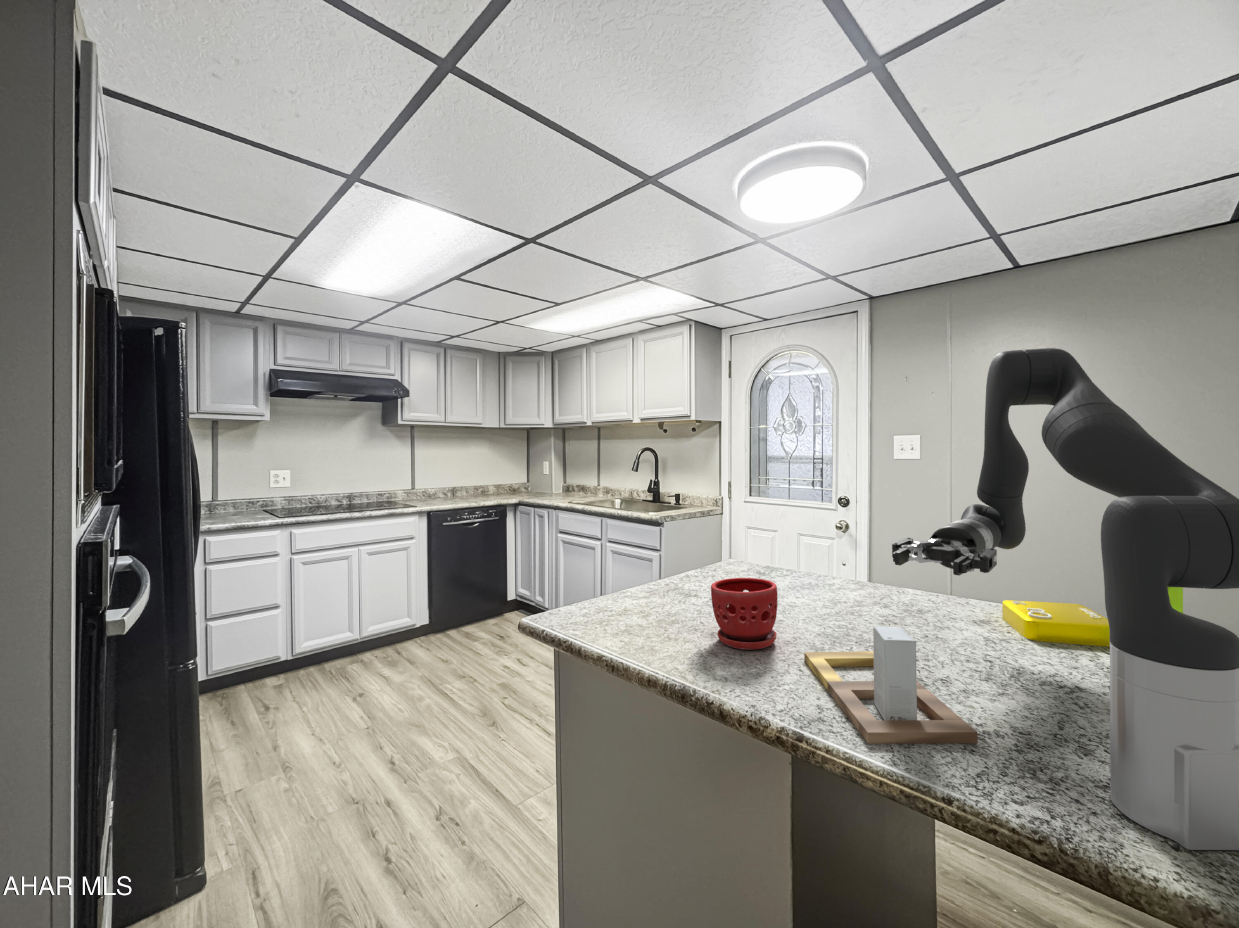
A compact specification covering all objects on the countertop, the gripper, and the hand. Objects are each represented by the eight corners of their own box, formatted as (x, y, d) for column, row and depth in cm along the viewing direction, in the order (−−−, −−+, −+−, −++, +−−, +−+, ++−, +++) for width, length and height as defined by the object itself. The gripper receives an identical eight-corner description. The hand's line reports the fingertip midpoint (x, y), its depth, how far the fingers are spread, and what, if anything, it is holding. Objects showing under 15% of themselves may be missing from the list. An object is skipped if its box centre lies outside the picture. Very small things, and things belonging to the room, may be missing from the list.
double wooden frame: (977, 743, 67) (977, 731, 67) (868, 743, 68) (867, 732, 68) (882, 659, 94) (882, 651, 94) (804, 660, 95) (804, 652, 95)
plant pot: (777, 632, 109) (776, 576, 109) (779, 657, 97) (778, 593, 96) (715, 628, 113) (713, 574, 113) (709, 651, 100) (707, 590, 100)
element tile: (1124, 649, 96) (1124, 624, 96) (1027, 642, 101) (1027, 618, 101) (1082, 623, 110) (1082, 601, 110) (999, 618, 115) (999, 597, 115)
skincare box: (918, 726, 72) (917, 641, 71) (885, 724, 72) (883, 640, 72) (903, 705, 78) (902, 626, 77) (873, 703, 78) (871, 625, 78)
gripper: (918, 517, 97) (878, 534, 86) (1010, 527, 86) (977, 547, 75) (918, 556, 97) (879, 578, 87) (1010, 571, 86) (978, 597, 76)
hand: (925, 563), depth 81 cm, fingers open, 8 cm apart
